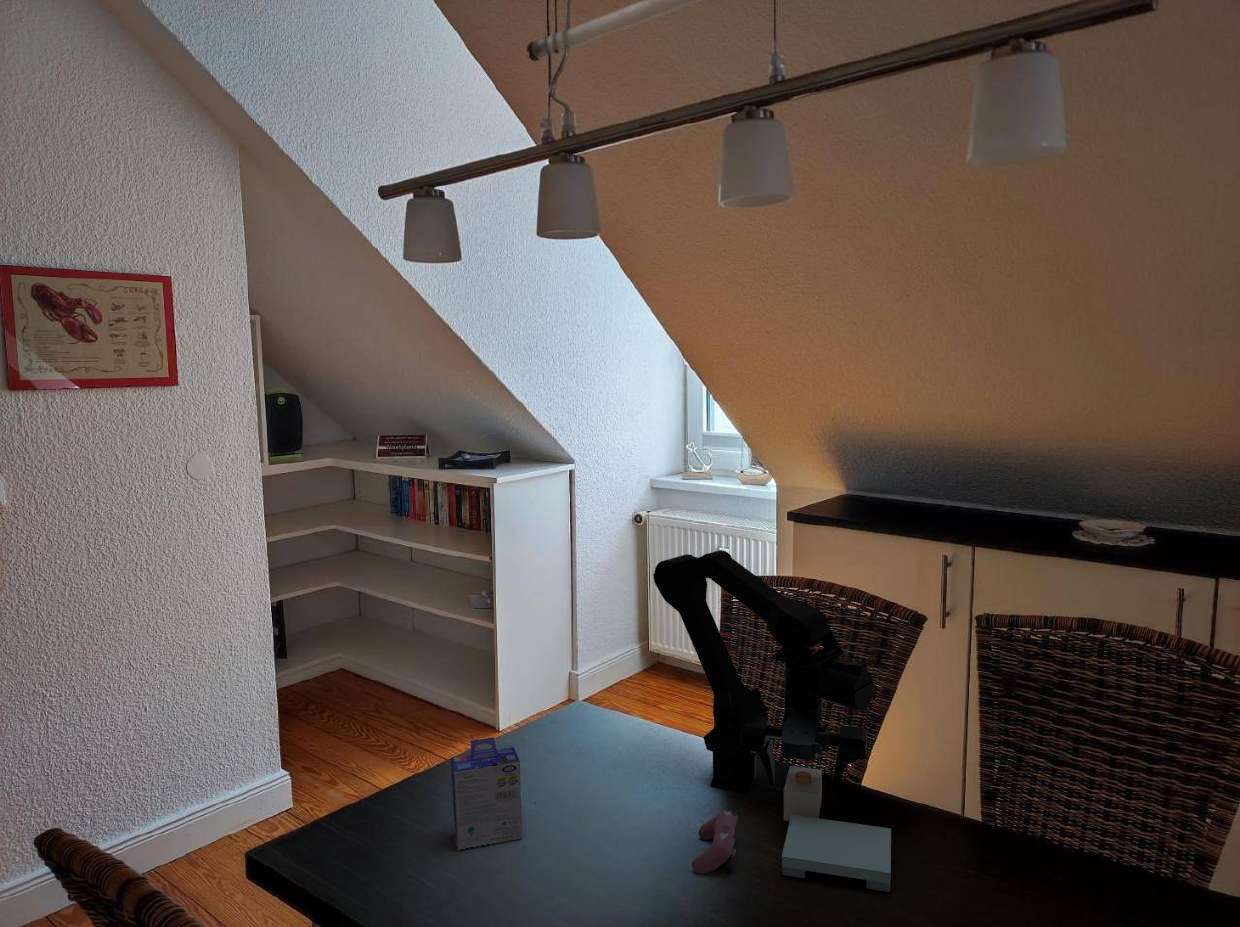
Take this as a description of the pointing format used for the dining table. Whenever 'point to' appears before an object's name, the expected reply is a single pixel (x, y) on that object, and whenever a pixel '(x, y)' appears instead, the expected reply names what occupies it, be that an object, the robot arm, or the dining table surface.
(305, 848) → the dining table surface
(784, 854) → the teal stand
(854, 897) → the dining table surface
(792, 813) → the grey housing
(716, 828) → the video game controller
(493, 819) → the ink cartridge box
